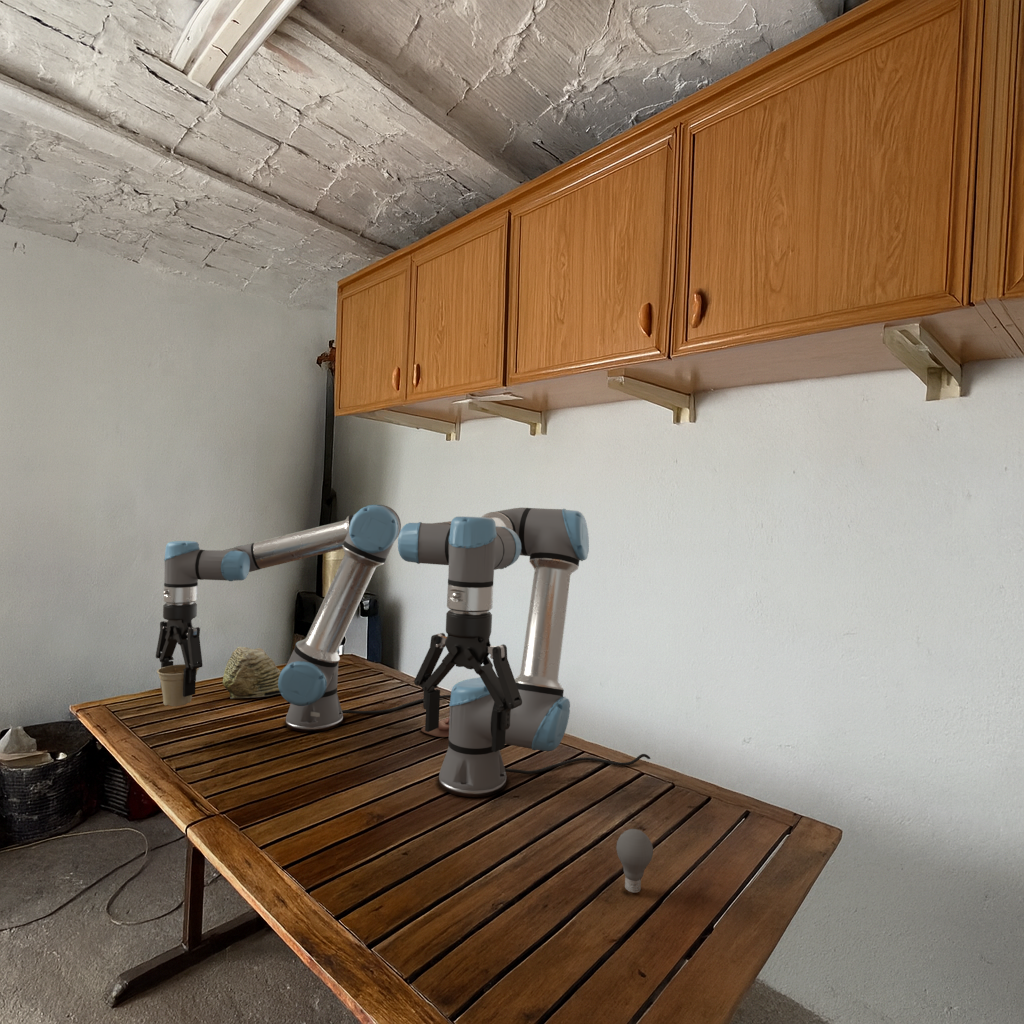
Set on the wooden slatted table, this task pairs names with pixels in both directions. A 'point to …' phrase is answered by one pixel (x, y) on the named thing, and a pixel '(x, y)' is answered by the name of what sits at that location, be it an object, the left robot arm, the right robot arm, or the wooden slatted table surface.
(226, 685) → the fossil
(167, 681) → the plastic plant pot
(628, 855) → the light bulb
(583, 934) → the wooden slatted table surface
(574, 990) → the wooden slatted table surface
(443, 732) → the anatomical model
